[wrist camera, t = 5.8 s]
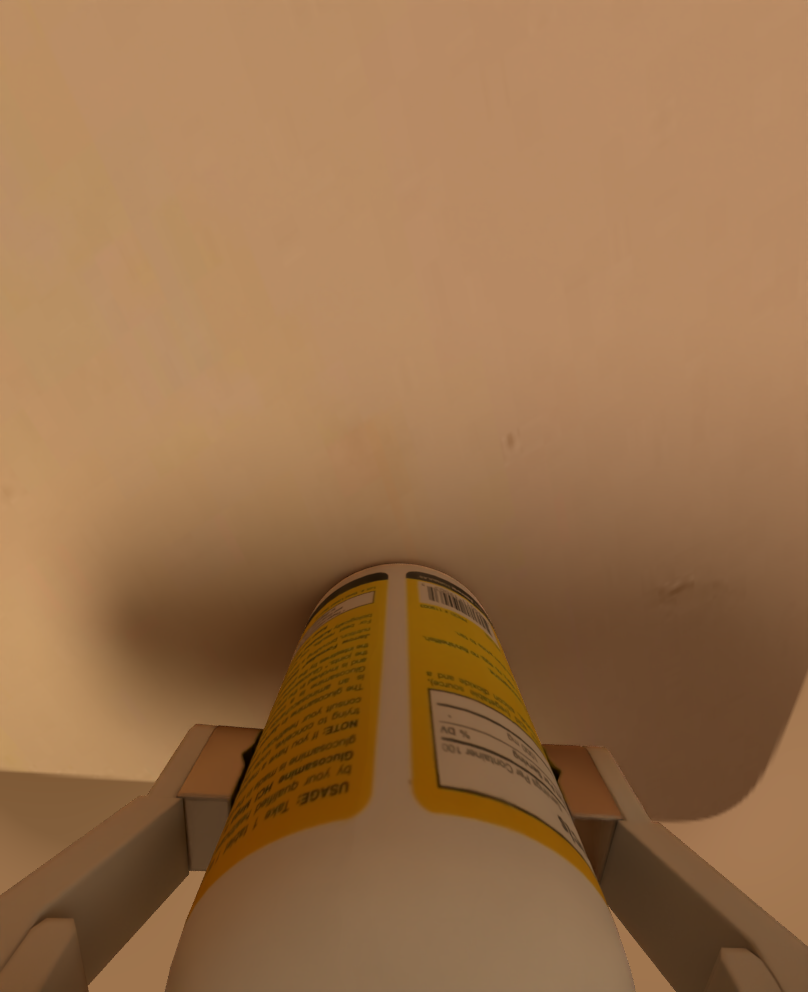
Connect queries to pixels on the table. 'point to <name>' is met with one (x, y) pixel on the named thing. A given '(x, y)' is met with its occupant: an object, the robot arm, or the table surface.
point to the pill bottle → (399, 820)
